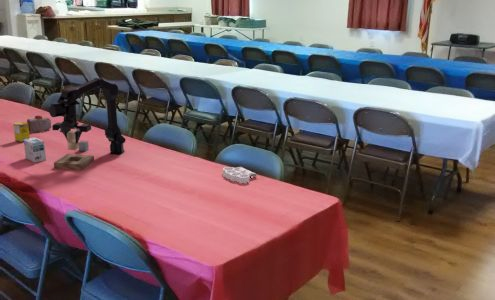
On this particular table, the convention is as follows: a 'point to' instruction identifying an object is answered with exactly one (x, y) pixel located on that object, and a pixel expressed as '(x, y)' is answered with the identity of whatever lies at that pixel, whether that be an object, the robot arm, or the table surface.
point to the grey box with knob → (39, 124)
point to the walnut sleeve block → (74, 161)
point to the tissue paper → (238, 174)
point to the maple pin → (72, 141)
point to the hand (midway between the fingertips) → (73, 143)
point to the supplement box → (21, 131)
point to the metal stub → (83, 146)
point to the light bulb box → (34, 149)
